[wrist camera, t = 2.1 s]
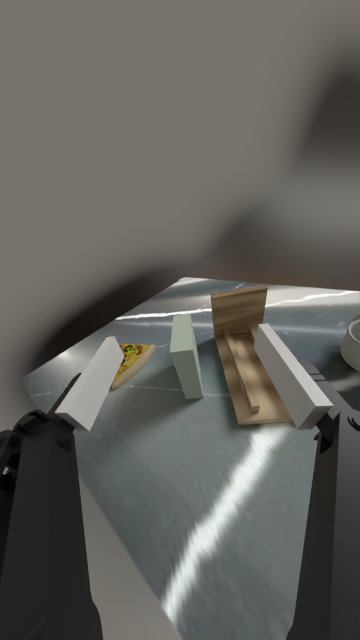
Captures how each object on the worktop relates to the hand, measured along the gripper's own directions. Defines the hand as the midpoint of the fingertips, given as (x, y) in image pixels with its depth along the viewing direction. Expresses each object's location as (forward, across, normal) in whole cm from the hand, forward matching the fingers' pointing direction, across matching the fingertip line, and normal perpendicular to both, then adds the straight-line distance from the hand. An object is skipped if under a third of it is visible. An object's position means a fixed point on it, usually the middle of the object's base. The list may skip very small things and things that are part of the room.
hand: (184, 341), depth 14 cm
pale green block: (+10, 0, -20) cm, 23 cm away
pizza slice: (+19, -23, -23) cm, 38 cm away
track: (+11, +12, -19) cm, 26 cm away
